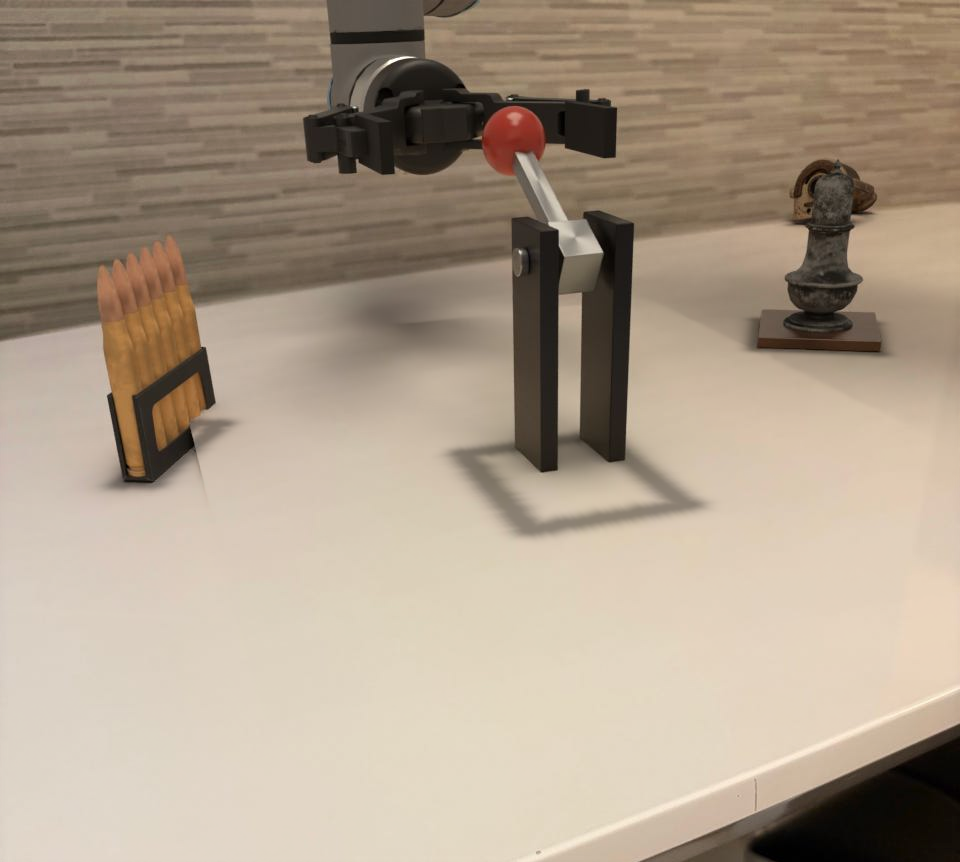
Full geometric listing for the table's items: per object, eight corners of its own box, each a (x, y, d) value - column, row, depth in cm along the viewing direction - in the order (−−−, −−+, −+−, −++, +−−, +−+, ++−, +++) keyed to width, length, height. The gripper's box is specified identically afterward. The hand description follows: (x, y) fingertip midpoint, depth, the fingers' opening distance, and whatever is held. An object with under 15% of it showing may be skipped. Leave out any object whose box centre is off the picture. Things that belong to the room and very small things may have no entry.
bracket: (463, 452, 66) (453, 210, 59) (600, 432, 68) (606, 197, 61) (530, 528, 56) (527, 248, 49) (688, 502, 58) (707, 231, 51)
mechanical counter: (765, 170, 129) (823, 158, 121) (847, 150, 134) (909, 137, 125) (772, 233, 132) (830, 225, 123) (852, 211, 136) (913, 202, 127)
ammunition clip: (151, 482, 63) (109, 268, 57) (122, 481, 63) (77, 268, 57) (219, 422, 72) (190, 232, 66) (193, 421, 72) (161, 232, 66)
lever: (470, 154, 62) (477, 94, 59) (529, 149, 63) (539, 90, 60) (541, 306, 56) (552, 248, 53) (605, 299, 57) (620, 241, 54)
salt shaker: (808, 310, 89) (827, 152, 83) (871, 323, 85) (896, 157, 79) (764, 324, 86) (780, 160, 80) (827, 337, 82) (850, 166, 76)
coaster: (873, 322, 89) (875, 312, 88) (880, 351, 81) (881, 341, 81) (761, 318, 91) (761, 308, 90) (757, 347, 83) (758, 337, 83)
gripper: (568, 158, 85) (693, 193, 67) (248, 182, 79) (294, 227, 61) (569, 49, 81) (701, 56, 63) (233, 65, 75) (277, 78, 57)
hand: (501, 140), depth 62 cm, fingers open, 13 cm apart
